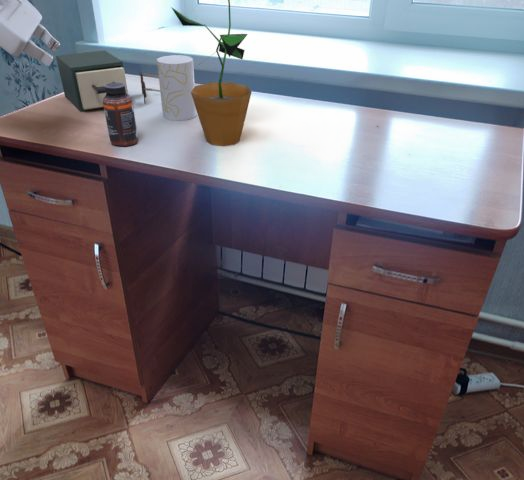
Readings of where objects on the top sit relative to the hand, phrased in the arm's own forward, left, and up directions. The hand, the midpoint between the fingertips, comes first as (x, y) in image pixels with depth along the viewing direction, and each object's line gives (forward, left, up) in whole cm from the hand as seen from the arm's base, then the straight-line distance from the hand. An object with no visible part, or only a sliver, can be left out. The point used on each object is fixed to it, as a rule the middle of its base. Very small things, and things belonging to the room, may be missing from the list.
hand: (55, 55), depth 96 cm
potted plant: (+29, -12, -17) cm, 36 cm away
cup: (+28, +8, -17) cm, 33 cm away
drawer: (+14, +23, -16) cm, 31 cm away
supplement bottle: (+10, -3, -17) cm, 20 cm away
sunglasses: (+32, +22, -17) cm, 42 cm away
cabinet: (+14, +29, -17) cm, 36 cm away
